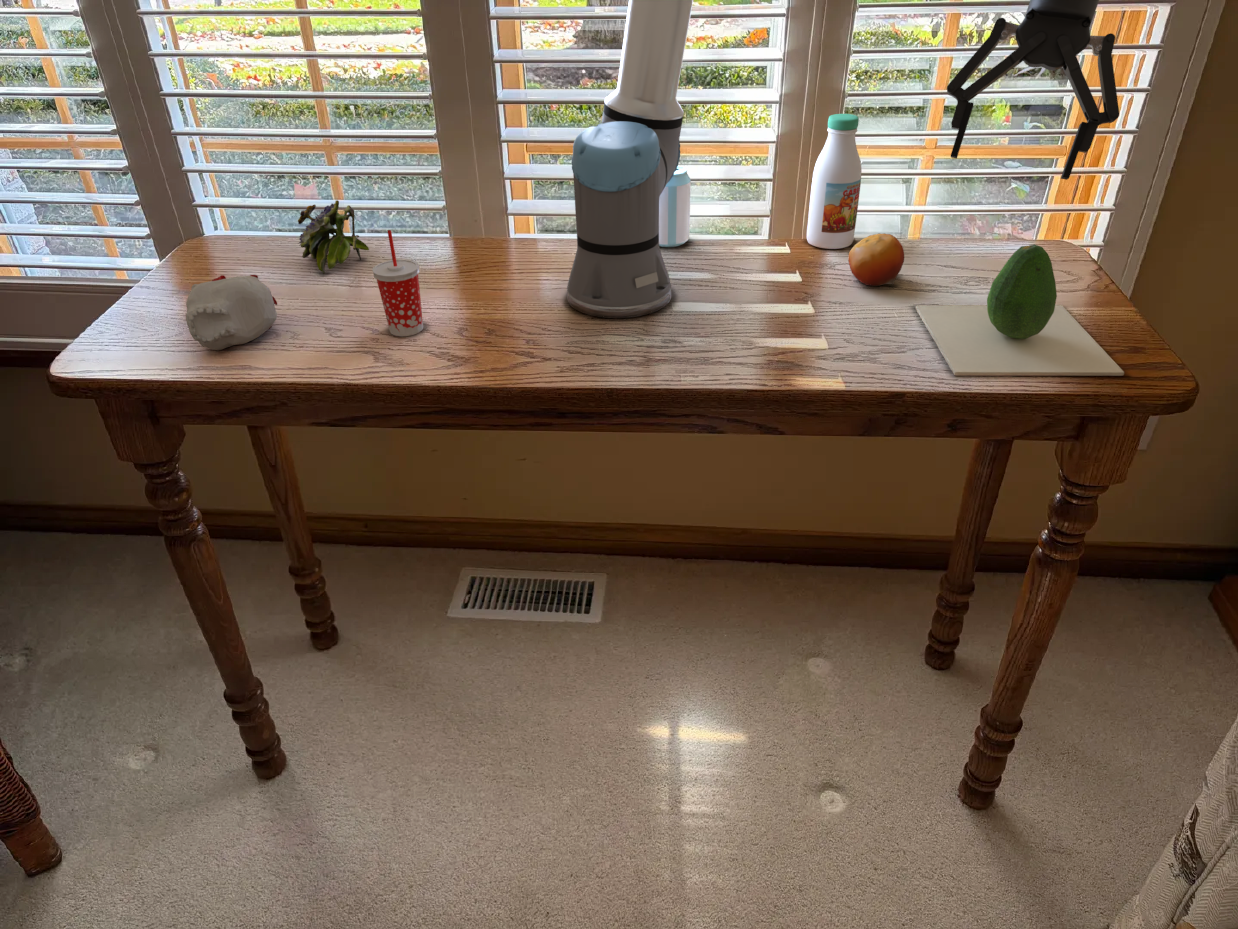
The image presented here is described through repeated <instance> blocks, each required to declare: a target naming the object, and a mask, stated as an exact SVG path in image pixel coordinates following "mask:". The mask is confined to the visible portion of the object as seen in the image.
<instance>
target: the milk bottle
mask: <svg viewBox="0 0 1238 929" xmlns="http://www.w3.org/2000/svg"><path fill="white" fill-rule="evenodd" d="M859 118H860V117H859V116H857V115H855V114H851V113H835V114H831V115H829V116H828V119H827V133H828V134H827V138H826V140H825V143H824V146H823V148H822V149H821V152H820V153H819V155H818V157H817V159H816V162H815V165H814V168H813V172H812V180H811V181H812V182H811V188H810V198H809V206H808V207H809V208H808V216H807V217H808V218H807V227H806V241H807V243H808V244H809V245H811V246H813V247H817V248H820V249H826V250H827V249H829V250H837V249H843V248H848V247H849V246H851V245H852V244H853V242H854V239H855V234H856V233H855V231H856V224H857V217H858V209H859V201H860V192H861V183H862V162H861V157H860V155H859V154H860V153H859V151H858V148H857V142H856V133H857V132H858V128H859V121H860V120H859Z"/></svg>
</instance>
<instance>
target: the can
mask: <svg viewBox="0 0 1238 929" xmlns="http://www.w3.org/2000/svg"><path fill="white" fill-rule="evenodd" d="M691 183H692V180H691V177H690V176H689V174H688V169H687V168H686V167H685V166H681V165H678V167H677V169H676V171H675V172H674V175H673V177H672V178H671V180H670V181H669V182H668V183H667V185H666V186H665V188H664V190H663V191H662V193H661V195H660V197H659V247H662V248H675V247H680V246H682V245H684V244H685V243H686V242H688V241H689V239H690V233H691V232H690V230H691V229H690V228H691V227H690V226H691V189H692V188H691V187H692V184H691Z"/></svg>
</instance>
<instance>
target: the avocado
mask: <svg viewBox="0 0 1238 929" xmlns="http://www.w3.org/2000/svg"><path fill="white" fill-rule="evenodd" d="M1053 268H1054V267H1053V263H1052V260H1051V257H1050V255H1049V253H1048V252H1047V251H1046V250H1045V248H1044V246H1041V245H1038V244H1029V245H1021V246H1020V247H1019V248H1018V249H1017V250H1016V251H1014V252H1013V253H1012V255H1011V256H1010V257H1009V259H1007V261H1006V262H1005V264H1004V265H1003V267H1002V268H1001V269H1000V271H999V272H998V274H997V275H996V277H995V279H993V281H992V284H991V286H990V289H989V292H988V295H987V297H986V305H987V310H988V315H989V319H990V321H991V323H992V324H993V325H994V327H995V328H996V329H997V330H998V331H999V332H1001V333H1002V334H1004V335H1006V336H1009V337H1011V338H1016V339H1026V338H1029V337H1031V336H1034V335H1036V334H1038V333H1039V332H1040V331H1041V330H1043V328H1044V327H1045V326H1046V325H1047V323H1048V321H1049V319H1050V318H1051V316H1052V314H1053V313H1054V309H1055V305H1056V303H1057V299H1058V298H1057V297H1058V295H1057V294H1058V293H1057V285H1056V278H1055V273H1054V269H1053Z"/></svg>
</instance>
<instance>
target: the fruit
mask: <svg viewBox="0 0 1238 929" xmlns="http://www.w3.org/2000/svg"><path fill="white" fill-rule="evenodd" d="M847 258H848V260H847V261H848V265H849V268H850V271H851V274H852V275H853V277H854V278H855V279H857V280H858V282H860V283H862V284H864V285H866V286H870V287H878V286H879V287H880V286H883V285H894V283H895V280H896V279H897V277H898V275H899V274H900V272H901V270H902V268H903V265H904V263H905V250H904V247H903V245H902V243H901V241H900V240H899V239H898V238H897V237H896V236H894V235H893V234H890V233H875V234H870V235H868V236H866V237H864V238H862V239H861V240H859V241H858V242H856V244H854V245H853V247H852V248H851V249H850V250H849V252H848V257H847Z"/></svg>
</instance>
